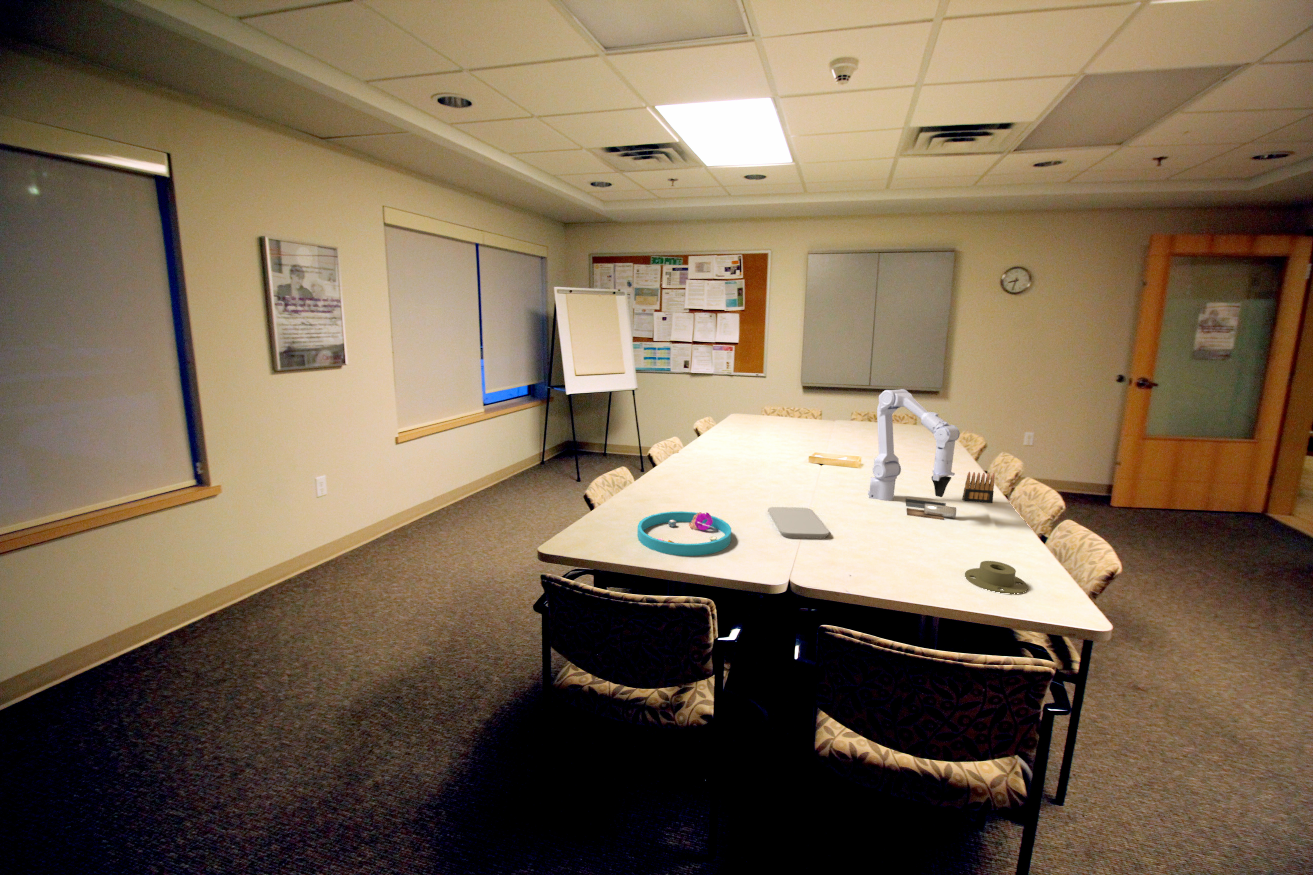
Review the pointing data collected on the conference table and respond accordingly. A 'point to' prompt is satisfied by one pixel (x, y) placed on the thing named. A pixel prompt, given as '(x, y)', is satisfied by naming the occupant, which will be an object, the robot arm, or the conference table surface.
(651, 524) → the teal round ring
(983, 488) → the ammunition clip
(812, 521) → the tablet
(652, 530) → the conference table surface
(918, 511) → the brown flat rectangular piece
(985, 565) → the flange
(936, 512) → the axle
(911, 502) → the cradle
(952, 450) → the robot arm
